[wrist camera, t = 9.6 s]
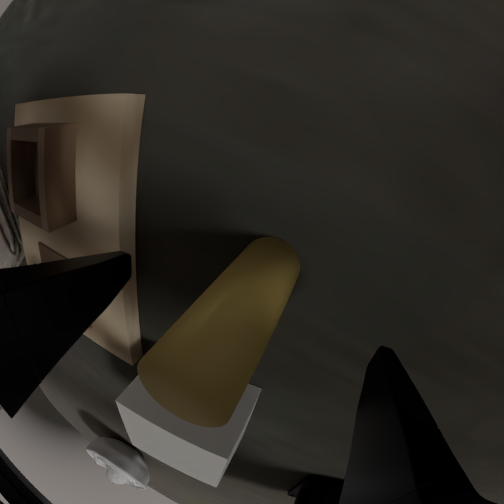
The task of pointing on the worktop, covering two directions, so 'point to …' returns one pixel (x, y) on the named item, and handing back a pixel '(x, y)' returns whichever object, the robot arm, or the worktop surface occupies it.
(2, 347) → the robot arm
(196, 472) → the grey rounded cube
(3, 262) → the washcloth
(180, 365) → the peg
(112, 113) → the board
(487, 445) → the worktop surface
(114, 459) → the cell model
